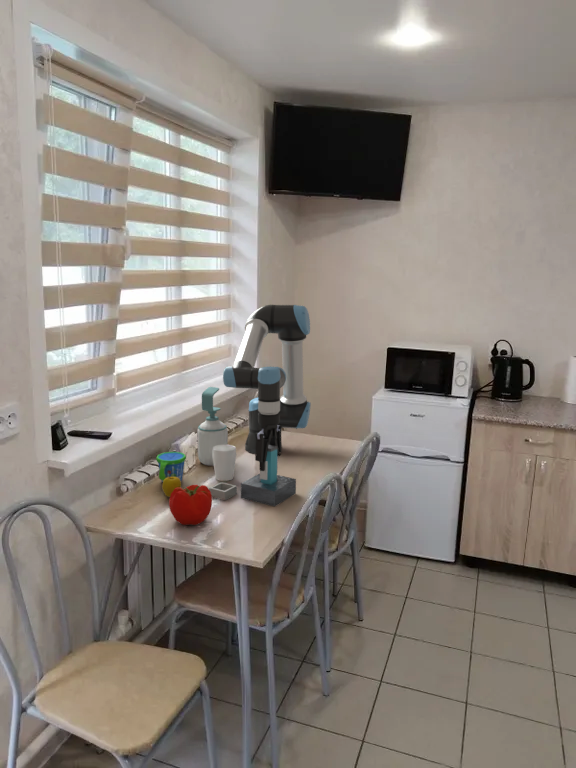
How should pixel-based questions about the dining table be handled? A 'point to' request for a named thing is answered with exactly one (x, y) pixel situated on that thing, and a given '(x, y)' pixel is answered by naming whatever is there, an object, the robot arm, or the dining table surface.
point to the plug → (271, 465)
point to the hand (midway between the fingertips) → (268, 476)
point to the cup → (224, 461)
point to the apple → (170, 485)
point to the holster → (223, 490)
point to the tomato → (190, 504)
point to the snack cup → (171, 465)
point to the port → (268, 490)
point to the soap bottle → (210, 429)
